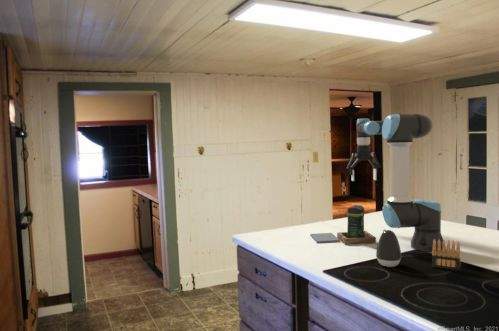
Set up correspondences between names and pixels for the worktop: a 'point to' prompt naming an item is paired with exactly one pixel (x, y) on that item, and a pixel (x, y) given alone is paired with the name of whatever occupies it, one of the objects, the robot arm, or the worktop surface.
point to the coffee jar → (355, 221)
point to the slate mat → (324, 237)
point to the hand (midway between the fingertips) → (363, 180)
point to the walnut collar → (356, 239)
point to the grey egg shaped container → (388, 249)
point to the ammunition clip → (446, 255)
